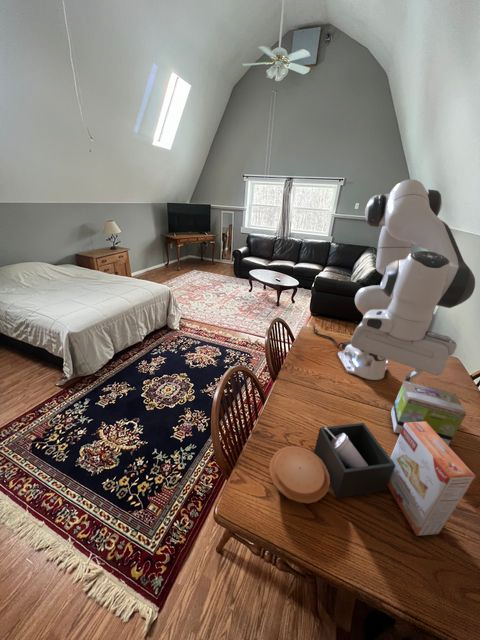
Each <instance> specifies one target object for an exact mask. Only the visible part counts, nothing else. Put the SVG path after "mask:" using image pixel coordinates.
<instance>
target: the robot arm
mask: <svg viewBox="0 0 480 640" xmlns="http://www.w3.org/2000/svg"><path fill="white" fill-rule="evenodd" d="M442 207H443V200H442V194H441V193H440V191H439V190H436V189H426V187H425V186H424V184H423V183H422V181H419V180H417V179H405V180H402V181H400V182H398V183H397V184H396V185H395V186H394V187H393V188H392V189H391V191H390V192H388V193H384V194H383V193H379V194H376V195H374V196H372V197H370V199H369V200H368V202H367V204H366V205H365V209H364V217H365V220H366V223H367V224H368V226H370V227H375V228H379V227H381V229H380V233H379V236H378V237H379V238H378V242H377V249H376V258H375V259H376V261H375V270H376V271H377V272H378V273H379V274H380V275H382V278H381V280H380V284H377V285H376V284H375V285H369V286H365V287H361V288H359V289H358V290H357V292H356V293H355V296H354V304H355V307H356V309H357V310H358V311H359V312H360V313H361V314H362V316H363V317H362V320H361V321H360V323H359V324H358V325H357V327H356V328H355V330H354V332H353V334H352V336H351V339H350V341H343V342H339V343H338V344H337V342H336V339H334V338H333V337H332V336H329V335H326V334H323V333H322V334H321V333H318V332H317V331H316V326H315V325H313V326H312V328H313V333H315V334H316V335H318V336H320V337H325V338H328V339H331V340H332V341H333V343H334V344H335V347H337V348H339V347H341V349H342V350H340V351H338V353H337V356H338V358H339V360H340V361H341V363H342V365H343V366H344V369H345V370H346V372H347V373H349V374H353V375H356V376H358V377H360V378H363V379H366V380H369V381H370V380H371V381H379V380H382V379H383V378H385V376H386V375H385V374H386V371H387V363H388V362H389V361H388V360H390V361H392V362H395V363H398V364H401V365H404V366H406V367H411V368H413V369H414V371H411V372H409V371H406V374H405V377H404V381H407V382H410V383H413V380H414V378H417V377H419V376H420V375H422V373H423V372H424V373H428V374H431V375H434V376H441V375H443V374H444V372H445V369H446V366H447V362H448V358H449V357H450V356H452V355H453V354H454V353H455V351H456V350H457V342H456V341H455V340H454V339H452V337H450V336H448V335H445V334H439V333H437V332H434V331H430V330H428V329H429V327H430V324H431V323H432V320H433V316H434V309H435V307H437V306H438V307H441V308H442V307H443V308H447V309H451V308H454V307H456V306H459V305H461V304H463V303H465V302H466V301H468V300H469V299H470V298H471V297H472V296H473V294H474V292H475V288H476V278H475V274H474V273H473V271H472V269H471V268H470V267H469V265H467V263H466V262H465V260H464V258H463V256H462V254H461V250H460V249H459V246H458V244H457V242H456V239H455V236H454V234H453V232H452V230H451V228H450V226H449V225H448V224H447V223H446V222H444V220H442V219H441V218H439V217H438V216H439V214H440V213H441V211H442V210H441V209H442ZM413 245H415V246H418V247H420V248H422V249H424V250H417V251H413V252H412V247H413Z"/></svg>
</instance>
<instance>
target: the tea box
mask: <svg viewBox="0 0 480 640" xmlns="http://www.w3.org/2000/svg"><path fill="white" fill-rule="evenodd" d="M395 398H396V399H395V401H394V404H393V405H392V408H391V411H390V416H391V421H392V427H393V428H392V429H393V433H396V434H400V433H401V430H402V428H403V426H404V423H407V422H427V423H428V424H429V426H430V427H431V428H432V429H433V430H434V431H435V432H436V433H437V434H438V435H439V436H440V438H441V439H442V440H443V441H444V442H445V443H446V444H447V445H448V446H449V445H450V443H451V442H452V440H453V439H454V436H456V433H457V431H458V429H459V428H460V427H461V424H462V423H463V422H464V419H465V417H466V415H467V413H466V410H465V409H464V406H463V405H462V403H461V401H460V399H459V397H458V395H457V393H454V392H451V391H447V390H444V389H438V388H435V387H430V386H426V385H422V384H420V383H415V382H411V383H410V382H408V381H405V380H403V381H402V384H401V386H400V389H399V391H398V393H397V396H396V397H395Z"/></svg>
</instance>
